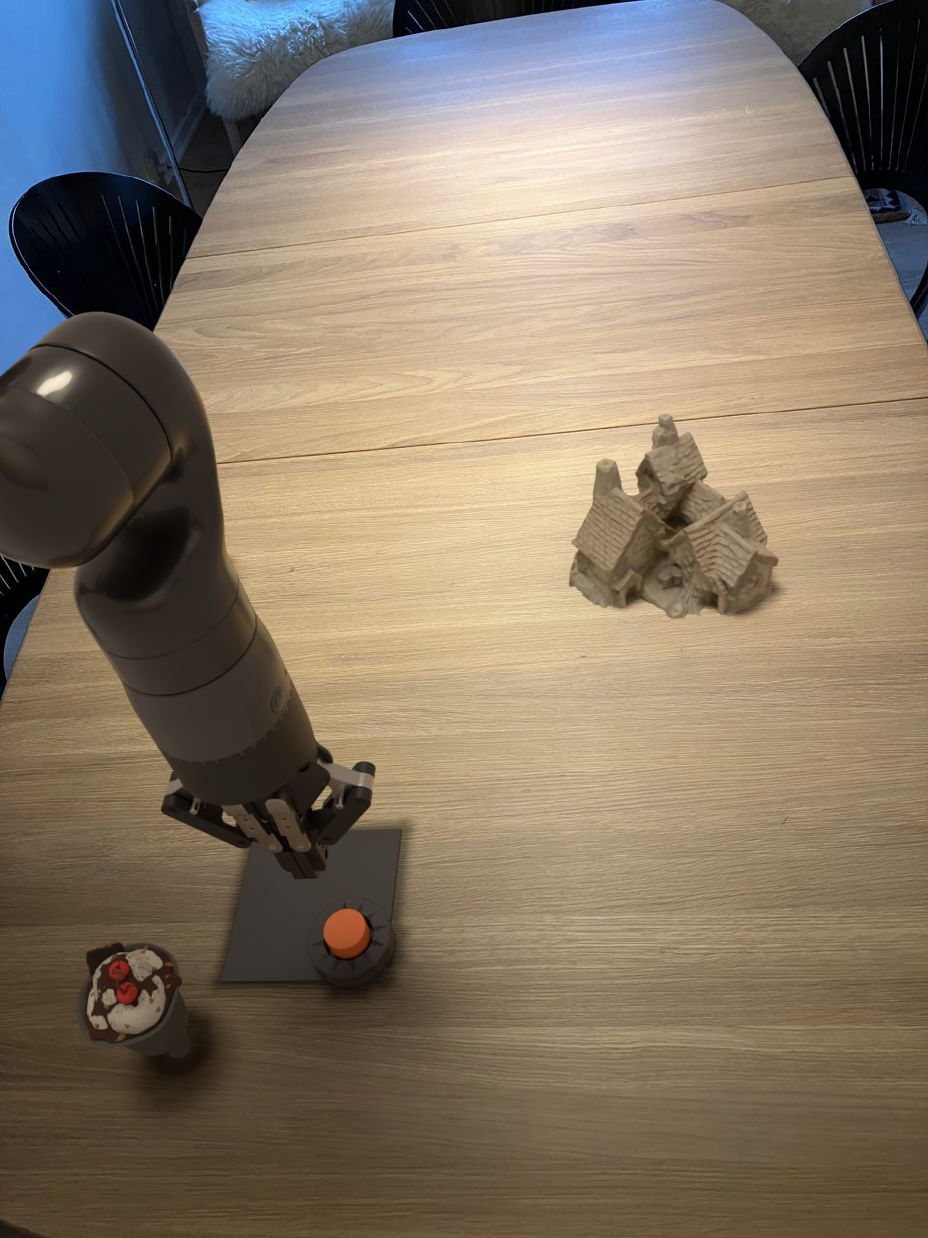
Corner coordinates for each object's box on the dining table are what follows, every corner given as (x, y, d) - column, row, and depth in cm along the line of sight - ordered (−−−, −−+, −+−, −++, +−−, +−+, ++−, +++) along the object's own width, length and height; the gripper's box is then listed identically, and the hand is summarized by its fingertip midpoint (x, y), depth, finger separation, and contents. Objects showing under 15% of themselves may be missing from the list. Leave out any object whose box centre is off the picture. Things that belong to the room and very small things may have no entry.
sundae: (230, 1095, 69) (143, 1006, 58) (133, 1109, 70) (29, 1023, 59) (237, 999, 74) (157, 900, 63) (146, 1012, 74) (51, 916, 63)
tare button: (325, 959, 72) (320, 949, 71) (332, 919, 74) (326, 909, 73) (367, 958, 71) (362, 949, 70) (373, 918, 73) (367, 908, 72)
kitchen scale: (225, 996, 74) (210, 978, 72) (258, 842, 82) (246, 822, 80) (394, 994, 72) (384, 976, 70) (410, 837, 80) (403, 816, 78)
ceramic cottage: (550, 562, 98) (542, 439, 86) (702, 504, 101) (714, 378, 89) (628, 680, 88) (632, 559, 77) (794, 613, 91) (822, 487, 79)
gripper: (353, 633, 54) (418, 810, 66) (117, 649, 56) (223, 818, 69) (332, 752, 49) (406, 919, 61) (74, 764, 51) (197, 924, 64)
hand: (309, 865), depth 65 cm, fingers closed
